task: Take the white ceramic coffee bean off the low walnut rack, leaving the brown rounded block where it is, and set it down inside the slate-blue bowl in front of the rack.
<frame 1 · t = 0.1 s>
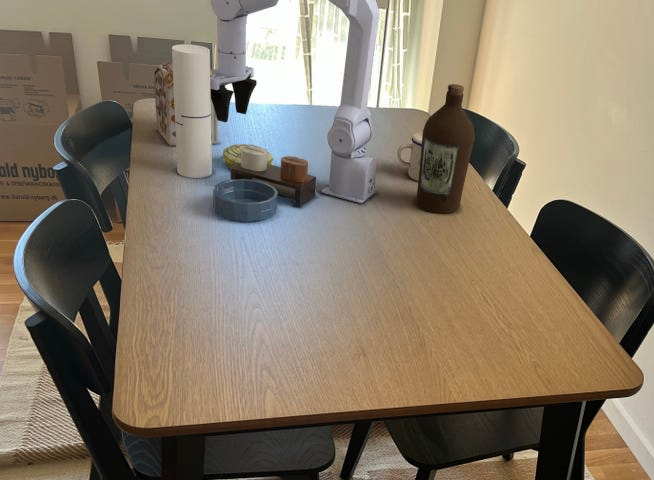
hand: (232, 117, 163), 10 cm above the table, tool pointing down, fingers open, 7 cm apart
brown rounded block: (293, 177, 153), point 4 cm above the table, touching rack
cylindrical container: (194, 172, 161), on the table
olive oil: (437, 206, 162), on the table
bowl: (245, 210, 148), on the table
decorated donut: (247, 167, 167), on the table
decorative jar: (187, 138, 178), on the table
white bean: (254, 167, 155), point 4 cm above the table, touching rack
teacup with lid: (420, 177, 175), on the table
rack: (273, 193, 156), on the table
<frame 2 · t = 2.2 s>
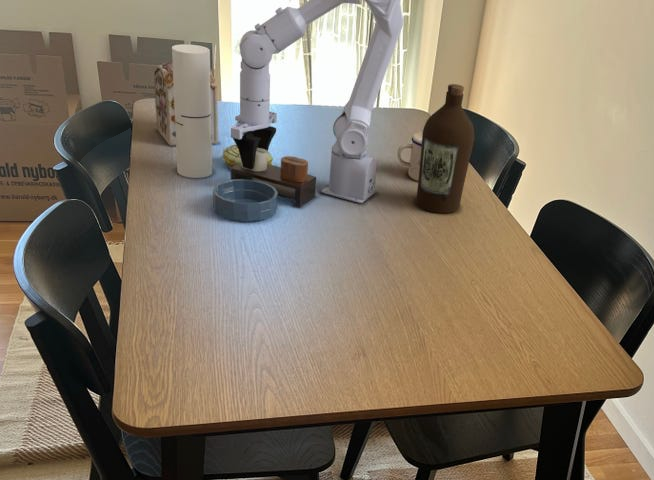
hand: (254, 164, 155), 5 cm above the table, tool pointing down, fingers closed on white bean, 4 cm apart
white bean: (253, 167, 155), point 5 cm above the table, touching gripper, rack
everything else where it was.
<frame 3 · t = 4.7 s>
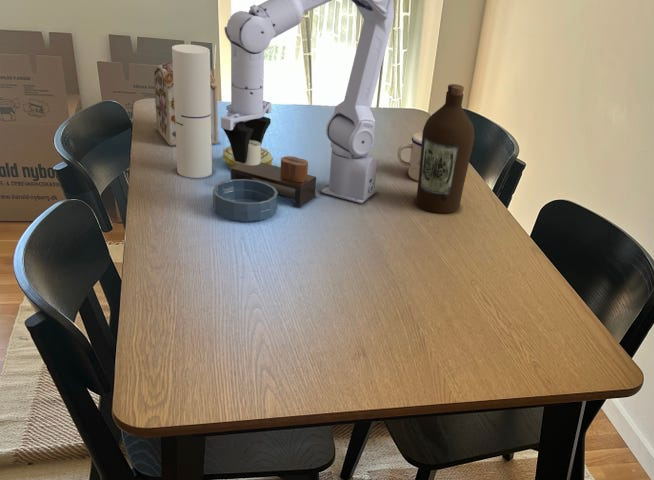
hand: (246, 158, 143), 10 cm above the table, tool pointing down, fingers closed on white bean, 4 cm apart
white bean: (246, 160, 144), point 10 cm above the table, touching gripper
everything else where it was.
when the fingers open (1 cm above the table, at t = 7.4 s): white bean stays where it is, resting on bowl.
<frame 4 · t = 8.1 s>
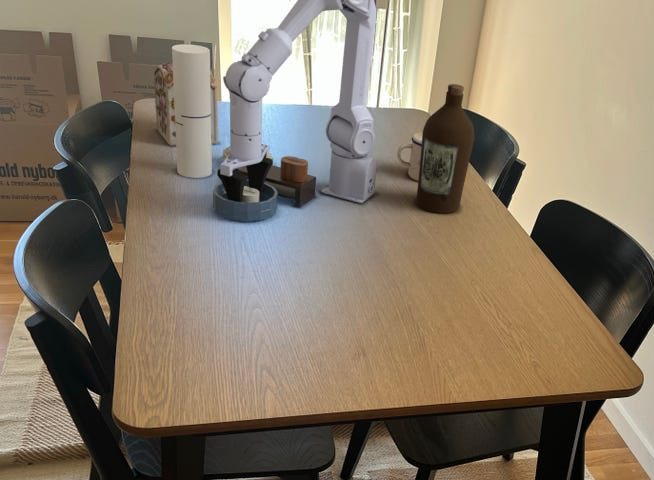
hand: (245, 200, 147), 2 cm above the table, tool pointing down, fingers open, 7 cm apart
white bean: (245, 208, 147), resting on bowl
everything else where it was.
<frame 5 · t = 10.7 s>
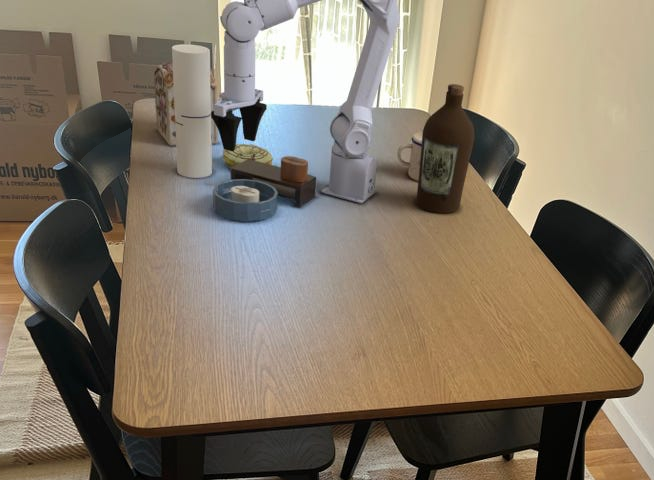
hand: (239, 144, 148), 10 cm above the table, tool pointing down, fingers open, 7 cm apart
nothing on the table moved.
at the end: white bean inside the target area in the bowl (0.1 cm from its centre), point 0.5 cm above the bowl's base; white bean touching bowl; brown rounded block moved 0.0 cm from its start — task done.
